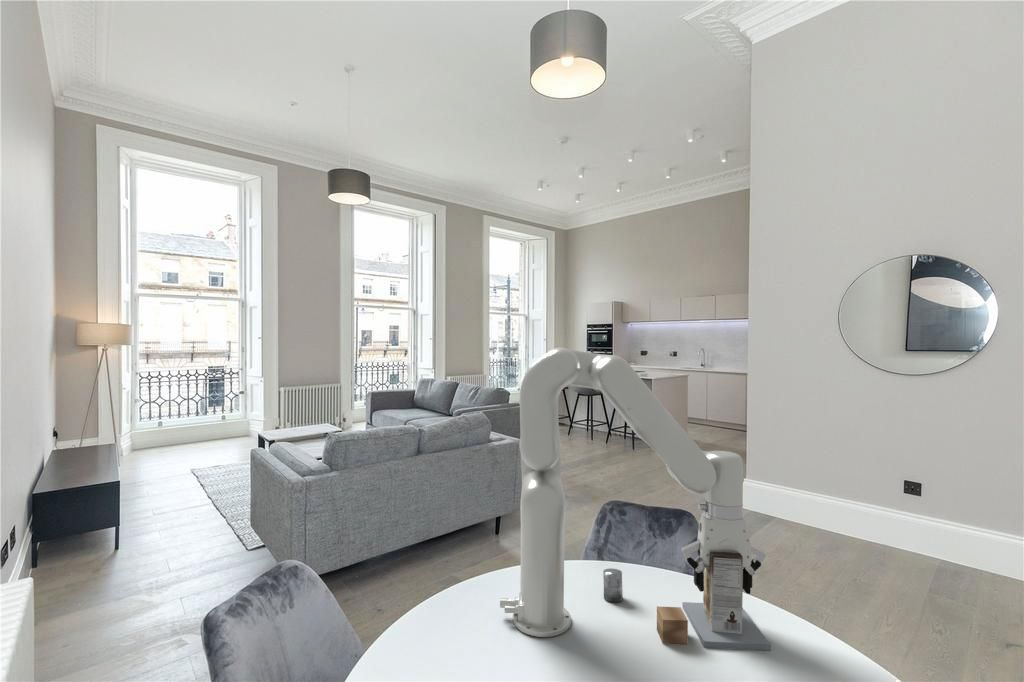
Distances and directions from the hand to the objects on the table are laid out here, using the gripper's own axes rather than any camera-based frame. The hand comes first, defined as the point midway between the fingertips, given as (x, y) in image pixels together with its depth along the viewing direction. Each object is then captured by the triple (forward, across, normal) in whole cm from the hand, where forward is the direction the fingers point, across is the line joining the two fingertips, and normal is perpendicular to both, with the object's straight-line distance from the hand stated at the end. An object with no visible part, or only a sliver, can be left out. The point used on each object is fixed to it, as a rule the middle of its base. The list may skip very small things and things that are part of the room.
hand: (722, 589), depth 104 cm
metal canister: (+8, -22, +10) cm, 25 cm away
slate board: (+8, 0, 0) cm, 8 cm away
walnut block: (+8, -12, -4) cm, 15 cm away
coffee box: (+7, 0, 0) cm, 7 cm away
